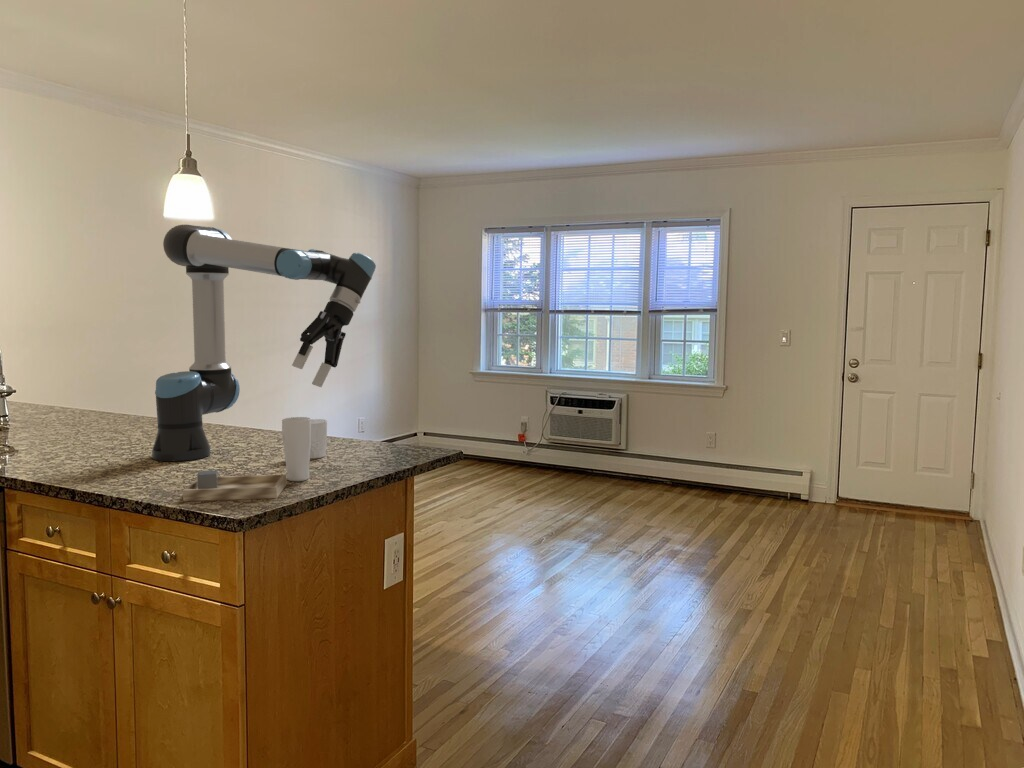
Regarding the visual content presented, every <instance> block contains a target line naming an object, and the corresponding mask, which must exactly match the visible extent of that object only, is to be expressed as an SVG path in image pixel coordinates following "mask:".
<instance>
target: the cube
mask: <svg viewBox="0 0 1024 768" xmlns="http://www.w3.org/2000/svg"><path fill="white" fill-rule="evenodd" d="M218 473H219V472H218V470H217V469H216V470H214V469H213V470H200V471H198V473H197V475H196V476H197V478H198V489H214V488H218V477H219V475H218Z"/></svg>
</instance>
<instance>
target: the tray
mask: <svg viewBox="0 0 1024 768" xmlns="http://www.w3.org/2000/svg"><path fill="white" fill-rule="evenodd" d="M287 484H288V483H287V474H264V475H263V474H262V475H261V474H259V475H257V474H255V475H231V476H230V475H225V476H222V475H221V476H218V488H214V489H198V477H197V478H196V479H195V480H194V481H192V482H191V483H190V484H188V486H186V487H185V488H184V489H183V490H182V498H183V499H182V501H183V502H189V501H190V502H193V501H196V502H197V501H221V500H223V501H225V500H226V501H227V500H228V501H229V500H254V499H255V500H256V499H277V498H278V497H279V496H280V494H281V493H282V492H283V490H284V489H285V488H286V486H287Z"/></svg>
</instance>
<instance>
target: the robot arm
mask: <svg viewBox="0 0 1024 768" xmlns="http://www.w3.org/2000/svg"><path fill="white" fill-rule="evenodd" d="M162 243H163V244H162V246H163V251H164V253H165V255H166V257H167V258H168V259H169V260H170V261H171V262H172V263H174V264H176V265H178V266H180V267H185V273H186V275H187V276H188V277H189V278H190V279H191V284H192V285H191V288H192V289H191V290H192V291H191V292H192V295H191V296H192V318H193V321H192V323H193V324H192V325H193V347H194V348H193V349H194V351H193V352H194V354H193V355H194V362H193V363H192V364H191V365H190V366H189V367H188V369H189V370H187V371H178V372H172V373H171V372H170V373H166V374H164V375H161V376H160V377H158V378H157V380H156V381H155V390H154V391H155V392H154V395H155V403H156V404H155V405H156V406H155V407H156V421H157V432H156V436H155V440H154V443H153V447H152V450H151V451H152V455H151V456H152V459H153V460H154V461H158V462H182V461H183V462H184V461H191V460H198V459H199V460H200V459H203V458H206V457H209V456H210V455H211V446H210V445H211V444H210V442H209V439H208V437H207V435H206V432H205V430H204V425H203V415H208V414H213V413H220V412H221V413H222V412H224V411H225V410H228V409H230V408H232V407H233V406H234V405H235V403H236V402H237V401H238V399H239V396H240V392H241V391H240V383H239V380H238V379H237V378H236V375H234V374H233V373H232V365H230V364H229V363H228V362H227V361H226V334H225V333H226V332H225V331H226V330H225V329H226V327H225V326H226V325H225V298H224V297H225V295H224V294H225V292H224V290H225V289H224V288H225V287H224V281H225V279H226V278H227V277H228V276H229V275H230V274H229V273H230V272H229V271H230V270H229V268H231V269H235V270H236V269H237V270H242V271H246V272H247V271H248V272H253V273H254V272H255V273H261V274H265V275H272V276H273V275H274V276H276V277H277V276H278V277H282V278H283V277H284V278H286V279H289V280H294V281H297V280H298V281H299V280H307V281H308V280H309V281H310V280H311V281H312V280H313V281H324V282H327V283H331V284H335V287H334V289H333V291H332V293H331V295H330V297H329V301H328V302H327V303H326V305H325V307H324V309H323V310H320V311H319V313H318V315H317V317H316V318H314V320H313V321H312V322H311V323H310V324H309V325H308V326H307V327H306V328H305V329H304V330H303V331H302V333H301V334H300V338H299V341H300V342H302V344H301V346H300V348H299V350H298V352H297V354H296V355H295V357H294V360H293V362H292V364H291V366H292V367H294V368H297V369H300V370H303V369H304V366H305V364H306V362H307V360H308V358H309V356H310V355H311V352H312V350H313V348H314V347H313V344H315V343H316V342H318V341H319V340H321V338H323V337H324V338H325V339H324V340H325V343H326V345H325V352H324V361H323V362H321V364H320V366H319V368H318V370H317V372H316V375H315V376H314V378H313V381H312V382H311V385H313V386H315V387H318V388H322V386H323V385H324V383H325V381H326V379H327V377H328V376H329V373H330V371H331V369H332V368H335V369H336V367H337V366H338V364H339V360H340V355H341V350H342V346H343V343H344V340H345V338H346V335H347V334H346V332H343V331H342V329H343V327H344V326H349V325H350V323H351V321H352V319H353V317H354V312H356V310H357V309H358V306H359V304H361V300H362V297H363V296H364V293H365V291H366V289H367V287H368V285H369V283H370V282H371V280H372V279H373V275H374V274H375V271H376V267H377V265H376V262H375V261H374V260H373V259H372V258H371V257H369V256H368V255H366V254H363V253H360V252H353V253H352V254H351V255H350V256H349V258H344V257H341V256H338V255H334V254H332V253H329V252H326V251H323V250H318V249H314V248H311V249H308V250H302V249H296V248H295V249H294V248H287V247H282V246H276V245H271V244H270V245H268V244H262V243H257V242H250V241H244V240H239V239H233V238H232V236H230V235H229V234H228V233H227V232H226V231H225V230H223V229H219V228H215V227H212V226H200V225H193V224H192V225H191V224H178V225H175V226H173V227H171V228H170V229H169V230H168V231H167V232H166V234H165V236H164V238H163V241H162Z"/></svg>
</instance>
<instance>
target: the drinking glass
mask: <svg viewBox="0 0 1024 768" xmlns="http://www.w3.org/2000/svg"><path fill="white" fill-rule="evenodd" d="M310 419H311V417H307V416H305V417H304V416H294V417H293V416H291V417H286V418H282V420H281V432H282V433H281V435H282V443H283V444H282V445H283V452H284V460H285V468H286V469H285V471H286V480H288V481H289V482H304V481H307V480H309V479H310V464H311V461H310V460H311V459H310V445H311V422H310Z"/></svg>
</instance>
